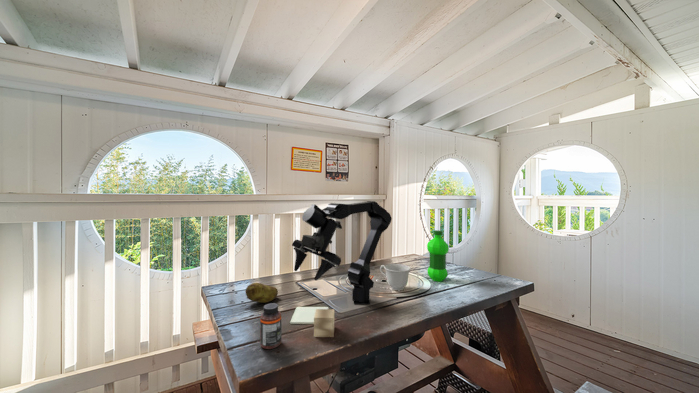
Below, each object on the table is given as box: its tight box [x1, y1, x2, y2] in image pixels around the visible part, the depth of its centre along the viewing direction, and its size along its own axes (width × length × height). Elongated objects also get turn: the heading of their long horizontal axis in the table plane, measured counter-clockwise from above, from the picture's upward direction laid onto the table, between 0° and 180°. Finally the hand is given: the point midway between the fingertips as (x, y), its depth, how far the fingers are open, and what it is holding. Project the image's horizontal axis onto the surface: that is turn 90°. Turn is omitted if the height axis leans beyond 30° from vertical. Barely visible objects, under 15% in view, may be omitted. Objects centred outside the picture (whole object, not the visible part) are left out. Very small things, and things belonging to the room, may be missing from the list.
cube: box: [313, 308, 335, 338], centre depth 85 cm, size 6×6×6 cm
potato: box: [245, 282, 279, 304], centre depth 108 cm, size 8×13×8 cm, turn 116°
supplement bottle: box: [259, 302, 282, 350], centre depth 78 cm, size 6×6×11 cm
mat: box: [289, 306, 329, 325], centre depth 96 cm, size 12×12×1 cm
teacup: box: [379, 263, 412, 292], centre depth 124 cm, size 12×15×10 cm
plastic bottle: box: [426, 229, 450, 283], centre depth 137 cm, size 10×10×25 cm
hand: (304, 275), depth 92 cm, fingers open, 9 cm apart
